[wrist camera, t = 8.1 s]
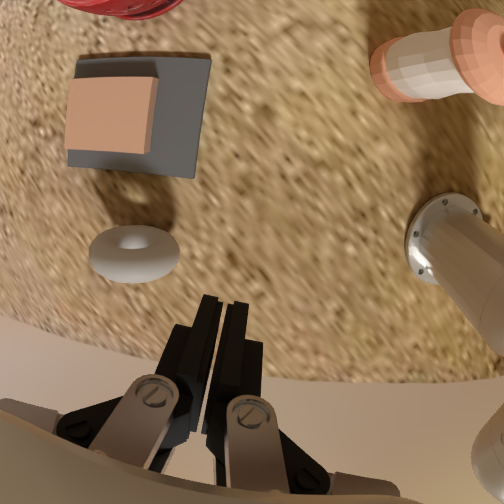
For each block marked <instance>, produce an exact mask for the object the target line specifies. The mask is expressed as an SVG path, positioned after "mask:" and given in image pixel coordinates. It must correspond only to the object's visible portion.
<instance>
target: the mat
mask: <svg viewBox="0 0 504 504" xmlns="http://www.w3.org/2000/svg"><path fill="white" fill-rule="evenodd" d="M211 62H212V61H211V60H210V59H197V58H179V57H116V58H98V59H86V60H77V63H76V69H75V76H74V79H79V78H96V77H155V78H158V79H159V82H158V88H157V95H156V103H155V110H154V118H153V127H152V136H151V146H150V152H147V153H145V154H137V153H125V152H112V151H96V150H75V149H68V167H82V168H94V169H106V170H117V171H128V172H138V173H147V174H156V175H165V176H173V177H181V178H189V179H194V178H195V171H196V162H197V154H198V147H199V139H200V132H201V125H202V118H203V111H204V104H205V98H206V92H207V86H208V79H209V74H210V68H211Z"/></svg>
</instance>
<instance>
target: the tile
mask: <svg viewBox="0 0 504 504" xmlns="http://www.w3.org/2000/svg"><path fill="white" fill-rule="evenodd" d="M158 82H159V79H158V78H155V77H96V78H79V79H70V86H69V94H68V103H67V114H66V128H65V148H64V149H75V150H96V151H112V152H125V153H137V154H145V153H147V152H150V146H151V136H152V127H153V118H154V110H155V103H156V95H157V88H158Z"/></svg>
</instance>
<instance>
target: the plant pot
mask: <svg viewBox="0 0 504 504" xmlns="http://www.w3.org/2000/svg"><path fill="white" fill-rule="evenodd" d="M58 1H59V2H61V3H62V4H64V5H67V6H69V7H72V8H74V9H77V10H81V11H85V12H89V13H93V14H98V15H107V16H116V17H119V18H122V19H126V20H144V19H150V18H154V17H157V16H159V15H162V14H164V13H166V12H168V11H170V10H171V9H173V8H174V7H176V6H177V5H179V4H180V3H181V2H182V1H183V0H58Z"/></svg>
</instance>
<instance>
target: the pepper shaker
mask: <svg viewBox="0 0 504 504" xmlns="http://www.w3.org/2000/svg"><path fill="white" fill-rule="evenodd" d="M370 72H371V77H372V79H373V81H374V83H375V85H376V86H377V88H378V89H379V90H380V91H381V93H382V94H384V95H385V96H387V97H388V98H389V99H392V100H394V101H397V102H423V101H426V100H429V99H441V98H444V97H447V96H451V95H454V94H457V93H475V94H476V95H478V96H480V97H481V98H483V99H485V100H487V101H488V102H490V103H492V104H496V105H504V19H503V18H502V17H500V16H499V15H497V14H496V13H494V12H491V11H488V10H485V9H480V8H473V9H466V10H464V11H463V12H462V13H460V14H459V15H458V16H457V17H456V19H455V21H454V23H453V25H452V26H451V27H448V28H445V29H442V30H439V31H429V32H418V33H414V34H410V35H408V36H406V37H404V36H401V37H397V38H394V39H391V40H389V41H387V42H385V43H383V44H381V45H380V46H379V47H378V48H376V49H375V51H374V53H373V54H372V56H371V60H370Z"/></svg>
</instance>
